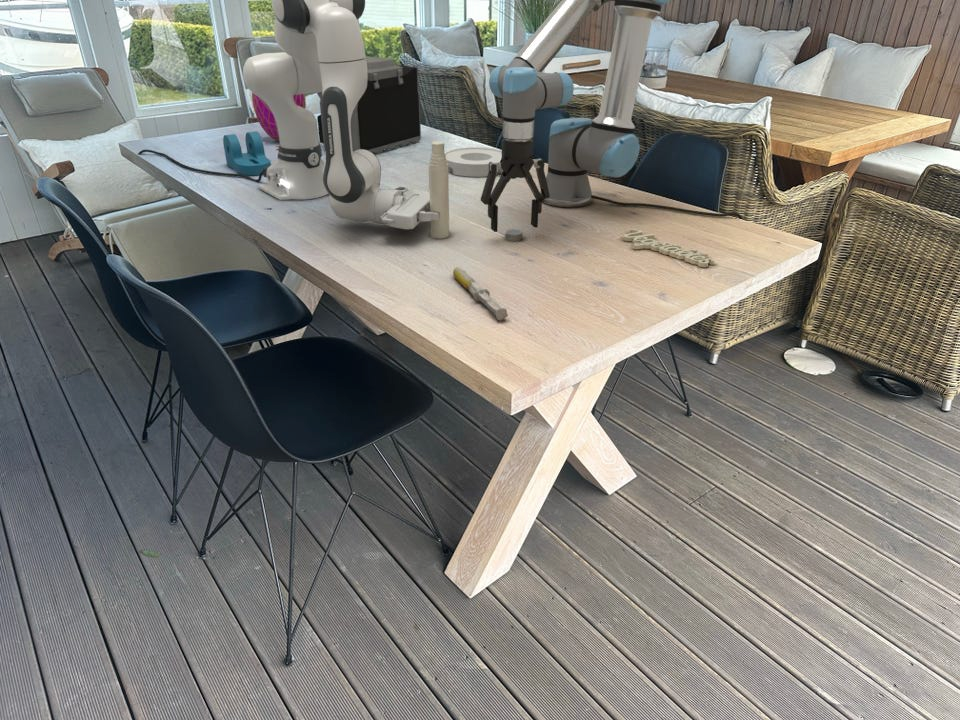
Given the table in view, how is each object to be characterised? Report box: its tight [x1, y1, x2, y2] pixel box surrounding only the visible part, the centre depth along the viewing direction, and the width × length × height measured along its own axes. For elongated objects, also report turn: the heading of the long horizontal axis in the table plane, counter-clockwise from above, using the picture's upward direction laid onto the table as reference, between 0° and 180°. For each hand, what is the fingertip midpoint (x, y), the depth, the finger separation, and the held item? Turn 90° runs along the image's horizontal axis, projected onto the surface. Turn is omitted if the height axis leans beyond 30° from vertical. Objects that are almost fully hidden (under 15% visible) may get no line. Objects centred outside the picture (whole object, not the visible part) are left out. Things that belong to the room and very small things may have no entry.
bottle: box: [428, 140, 450, 239], centre depth 171 cm, size 5×5×23 cm
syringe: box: [452, 266, 509, 321], centre depth 145 cm, size 25×4×3 cm, turn 21°
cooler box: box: [316, 55, 422, 155], centre depth 250 cm, size 37×22×30 cm, turn 144°
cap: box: [505, 228, 523, 242], centre depth 175 cm, size 4×4×2 cm
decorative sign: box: [622, 228, 715, 268], centre depth 169 cm, size 26×1×10 cm
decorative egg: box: [251, 92, 307, 141], centre depth 257 cm, size 19×19×30 cm
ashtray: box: [444, 146, 503, 178], centre depth 232 cm, size 23×23×4 cm
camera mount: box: [222, 131, 272, 176], centre depth 226 cm, size 18×10×10 cm, turn 35°
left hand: (442, 212), depth 174 cm, fingers closed on bottle, 5 cm apart
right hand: (514, 228), depth 174 cm, fingers open, 10 cm apart
